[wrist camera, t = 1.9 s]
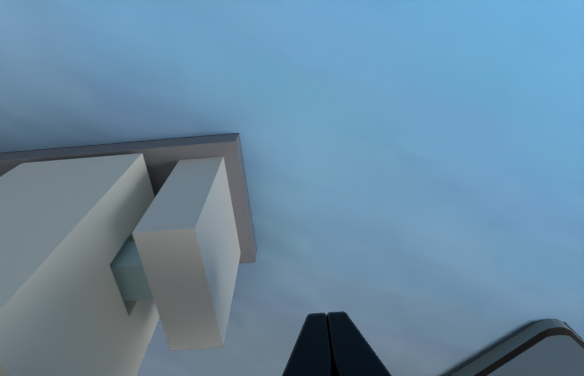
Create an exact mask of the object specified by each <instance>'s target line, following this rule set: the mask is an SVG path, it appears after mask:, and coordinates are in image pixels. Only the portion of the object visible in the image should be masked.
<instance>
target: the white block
mask: <svg viewBox="0 0 584 376" xmlns="http://www.w3.org/2000/svg"><path fill="white" fill-rule="evenodd" d="M154 198H155V196H154V192H153V189H152V185H151V182H150V178H149V175H148V171H147V168H146V164H145V160H144V157H143V153H138V154H126V155H114V156H102V157H90V158H77V159H65V160H53V161H41V162H29V163H21V164H20V165H18V166H17V167H15V168H13V169H12V170H10V171H9V172H7V173H6V174H4V175H3V176H1V177H0V376H136V375H137V373H138V370H139V368H140V365H141V363H142V360H143V358H144V355H145V353H146V350H147V348H148V345H149V343H150V340H151V338H152V335H153V333H154V330H155V328H156V325H157V323H158V320H159V314H158V311H157V308H156V305H155V302H154V299H149V300H134V301H123V299H122V297H121V294H120V291H119V289H118V286H117V283H116V281H115V278H114V275H113V273H112V270H111V267H110V264H111V262H112V261H113V259H114V258H115V256H116V255H117V253H118V252H119V250H120V249H121V247H122V246H123V244H124V242H126V241H134V238H133V235H132V232H133V231H134V229H135V228H136V226H137V225H138V223H139V221H140V220H141V218H142V217H143V215H144V214H145V212H146V211H147V209H148V208H149V206H150V205H151V203H152V201H153V200H154Z"/></svg>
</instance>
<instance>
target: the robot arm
mask: <svg viewBox="0 0 584 376" xmlns="http://www.w3.org/2000/svg"><path fill="white" fill-rule="evenodd" d="M282 376H391V374H390V373H389V371H388V370H387V369H386V367H385V366H384V365H383V363H382V362H381V360H380V359H379V358H378V356H377V355H376V353H375V352H374V351H373V349H372V348H371V347H370V345H369V344H368V342H367V341H366V340H365V338H364V337H363V336H362V334H361V333H360V331H359V330H358V329H357V327H356V326H355V324H354V323H353V322H352V320H351V319H350V318H349V316H348V315H347V314H346V313H345V312H343V311H342V312H329V313H328V314H327V316H326V314H325V313H312V314H309V315H308V316H307V317H306V320H305V322H304V324H303V327H302V329H301V332H300V334H299V336H298V339H297V341H296V344H295V346H294V348H293V351H292V353H291V356H290V358H289V360H288V363H287V365H286V368H285V370H284V372H283V375H282Z"/></svg>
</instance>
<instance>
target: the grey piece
mask: <svg viewBox="0 0 584 376" xmlns="http://www.w3.org/2000/svg"><path fill="white" fill-rule="evenodd" d="M138 153H143V157H144V160H145V164H146V168H147V171H148V175H149V178H150V182H151V185H152V189H153V192H154V196H155V198H154V200H153V201H152V203H151V205H150V206H149V208H148V209H147V211H146V212H145V214H144V215H143V217H142V218H141V220H140V221H139V223H138V225H137V226H136V228H135V229H134V231H133V232H132V235H133V238H134V241H126V242H124V244H123V246H122V247H121V249H120V250H119V252H118V253H117V255H116V256H115V258H114V259H113V261H112V262H111V264H110V267H111V270H112V273H113V275H114V278H115V281H116V283H117V286H118V289H119V291H120V294H121V297H122V299H123V301H134V300H149V299H154V302H155V305H156V308H157V311H158V314H159V317H160V320H161V323H162V326H163V329H164V332H165V335H166V338H167V341H168V344H169V347H170V350H171V351H176V350H191V349H207V348H222V347H223V346H224V341H225V335H226V330H227V324H228V319H229V313H230V308H231V303H232V297H233V292H234V286H235V281H236V276H237V270H238V265H239V263H252V262H255V261H256V253H257V248H256V241H255V235H254V228H253V222H252V215H251V209H250V202H249V196H248V190H247V183H246V177H245V170H244V164H243V157H242V151H241V144H240V138H239V133H236V134H224V135H212V136H200V137H188V138H176V139H164V140H152V141H140V142H128V143H116V144H104V145H92V146H80V147H68V148H56V149H44V150H32V151H20V152H8V153H0V177H1V176H3V175H4V174H6V173H7V172H9V171H10V170H12V169H13V168H15V167H17V166H18V165H20V164H21V163H29V162H41V161H53V160H65V159H77V158H90V157H102V156H114V155H126V154H138Z"/></svg>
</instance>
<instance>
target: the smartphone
mask: <svg viewBox="0 0 584 376" xmlns="http://www.w3.org/2000/svg"><path fill="white" fill-rule="evenodd" d="M450 376H584V341H583V339H582V338H581V337H579V336H578V335H577V334H576V333H575V332H574V331H573V330H572V329H571V328H570V327H569V326H568V325H567V324H566V323H565V322H562V321H560V320H558V319H546V320H541V321H539V322H536V323H534V324H532V325H531V326H529V327H528V328H526V329H524V330H523V331H521V332H519V333H518V334H516V335H515V336H513V337H511V338H510V339H508V340H507V341H505V342H503V343H502V344H500V345H498V346H497V347H495V348H494V349H492V350H490V351H489V352H487V353H486V354H484V355H482V356H481V357H479V358H477V359H476V360H474V361H473V362H471V363H469V364H468V365H466V366H464V367H463V368H461V369H460V370H458V371H456V372H455V373H453V374H452V375H450Z"/></svg>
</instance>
